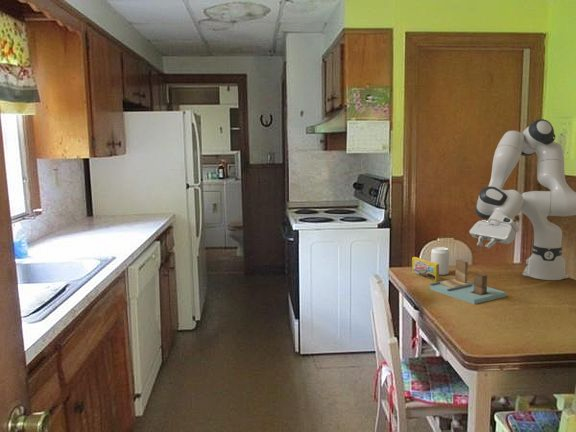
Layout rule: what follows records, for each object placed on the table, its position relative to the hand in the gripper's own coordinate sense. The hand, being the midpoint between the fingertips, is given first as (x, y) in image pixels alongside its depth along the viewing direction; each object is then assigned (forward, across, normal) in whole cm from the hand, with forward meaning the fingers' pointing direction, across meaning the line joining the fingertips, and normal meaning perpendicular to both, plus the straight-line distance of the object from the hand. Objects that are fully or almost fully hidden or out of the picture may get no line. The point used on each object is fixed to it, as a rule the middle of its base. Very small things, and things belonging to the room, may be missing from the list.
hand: (482, 246), depth 218 cm
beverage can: (+13, -23, +11) cm, 29 cm away
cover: (+21, 0, -1) cm, 22 cm away
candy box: (+20, -22, +4) cm, 30 cm away
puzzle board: (+23, +6, 0) cm, 24 cm away
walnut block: (+23, +13, 0) cm, 26 cm away
